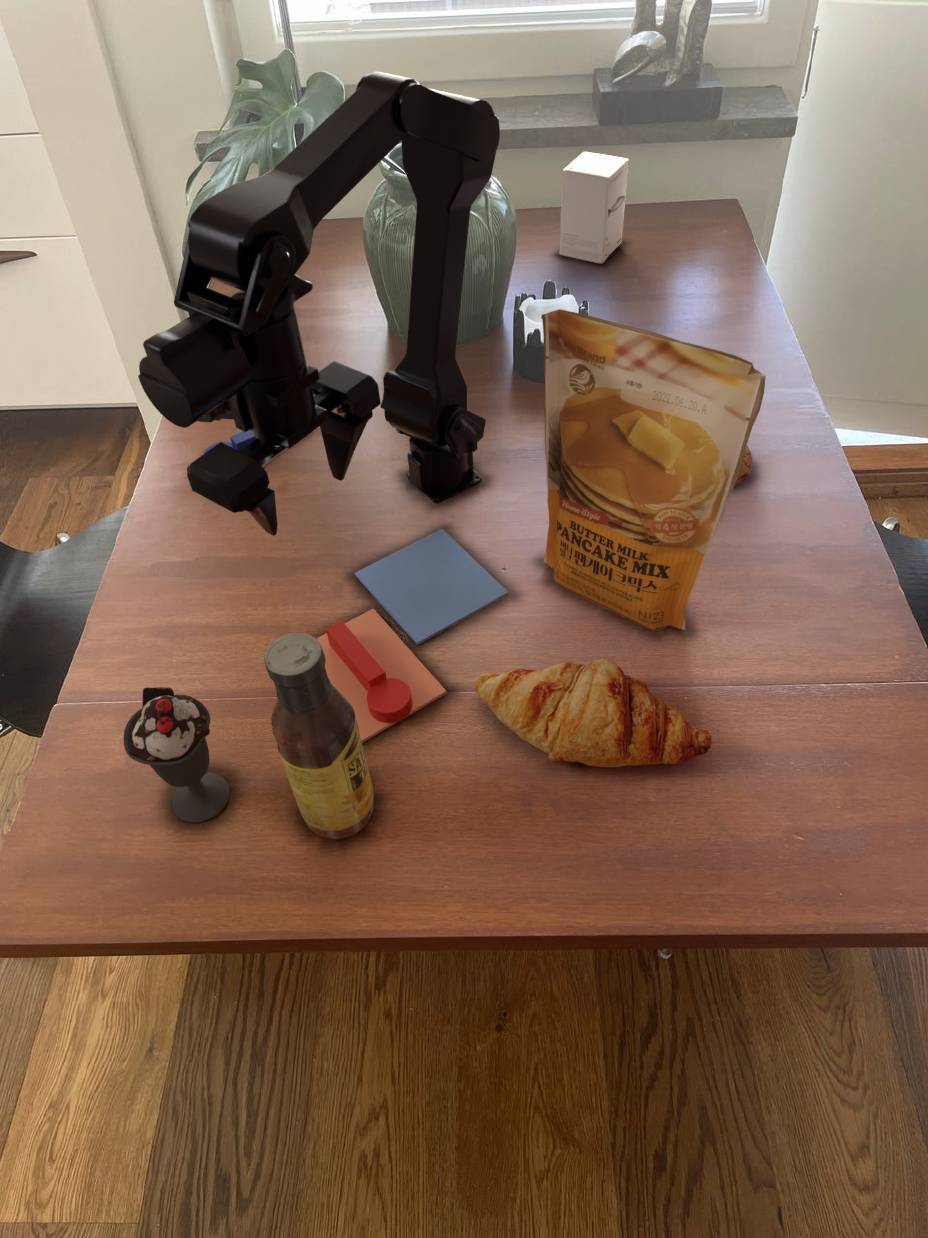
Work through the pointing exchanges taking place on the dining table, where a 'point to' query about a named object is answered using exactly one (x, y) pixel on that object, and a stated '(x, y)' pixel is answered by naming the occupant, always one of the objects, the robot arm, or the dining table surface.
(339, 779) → the sauce bottle
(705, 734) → the croissant
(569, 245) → the white packaging box
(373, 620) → the red mat
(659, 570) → the pancake mix bag
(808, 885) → the dining table surface
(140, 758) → the sundae
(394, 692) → the red spoon
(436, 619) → the blue mat
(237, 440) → the blue spoon
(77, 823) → the dining table surface
